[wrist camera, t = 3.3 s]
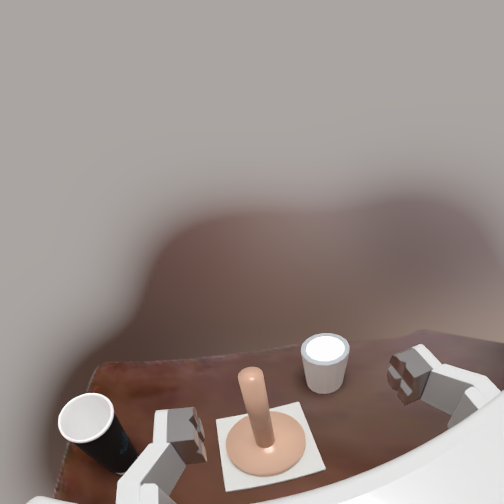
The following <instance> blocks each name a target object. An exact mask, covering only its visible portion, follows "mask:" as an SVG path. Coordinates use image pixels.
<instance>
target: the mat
mask: <svg viewBox="0 0 504 504" xmlns="http://www.w3.org/2000/svg"><path fill="white" fill-rule="evenodd" d="M269 410H270V411H276V412H281V413H284V414H287V415H289V416H291V417H293V418H294V419H295V420H297V421H298V422H299V423H300V425H301V426H302V428H303V430H304V433H305V441H306V444H305V451H304V453H303V456H302V457H301V459H300V460H299V462H298V463H297V464H296V465H295V466H294V467H292V468H291V469H290V470H288V471H286V472H284V473H282V474H279V475H276V476H270V477H257V476H252V475H249V474H246V473H244V472H242V471H241V470H239V469H238V468H237V467H236V466H235V465H234V464H233V463H232V461H231V460H230V458H229V456H228V453H227V450H226V439H227V435H228V433H229V431H230V430H231V428H232V427H233V426H234V425H235V424H236V423H237V422H238V421H239V420H241V419H242V418H244V417H246V416H248V414H244V415H239V416H233V417H228V418H222V419H216V423H217V431H218V439H219V447H220V455H221V462H222V469H223V476H224V483H225V489H226V492H233V491H239V490H246V489H251V488H257V487H262V486H267V485H272V484H276V483H281V482H285V481H289V480H293V479H297V478H300V477H304V476H308V475H311V474H314V473H318V472H321V471H324V470H326V468H325V466H324V463H323V461H322V458H321V456H320V453H319V451H318V448H317V446H316V443H315V441H314V438H313V436H312V433H311V431H310V428H309V426H308V423H307V421H306V418H305V416H304V413H303V411H302V408H301V406H300V403H299V402H296V403H292V404H288V405H284V406H280V407H276V408H272V409H269Z"/></svg>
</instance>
